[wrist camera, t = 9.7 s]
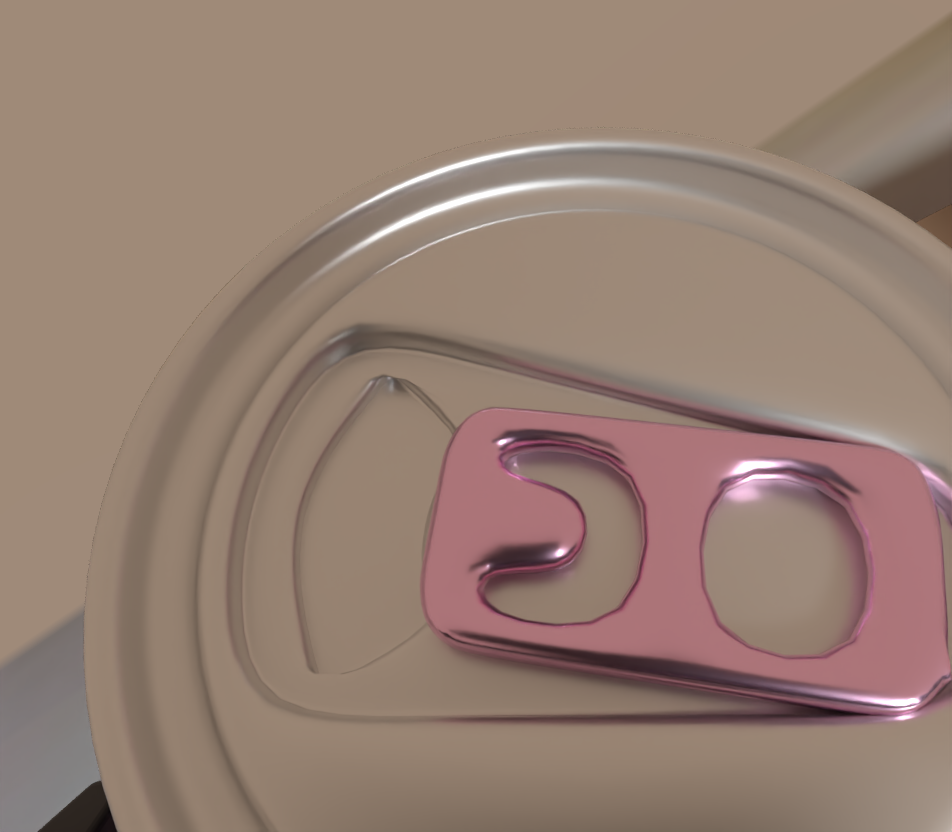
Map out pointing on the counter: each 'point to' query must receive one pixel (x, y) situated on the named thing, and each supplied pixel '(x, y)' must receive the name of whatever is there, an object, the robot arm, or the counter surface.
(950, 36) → the counter surface
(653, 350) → the beverage can
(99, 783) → the robot arm
